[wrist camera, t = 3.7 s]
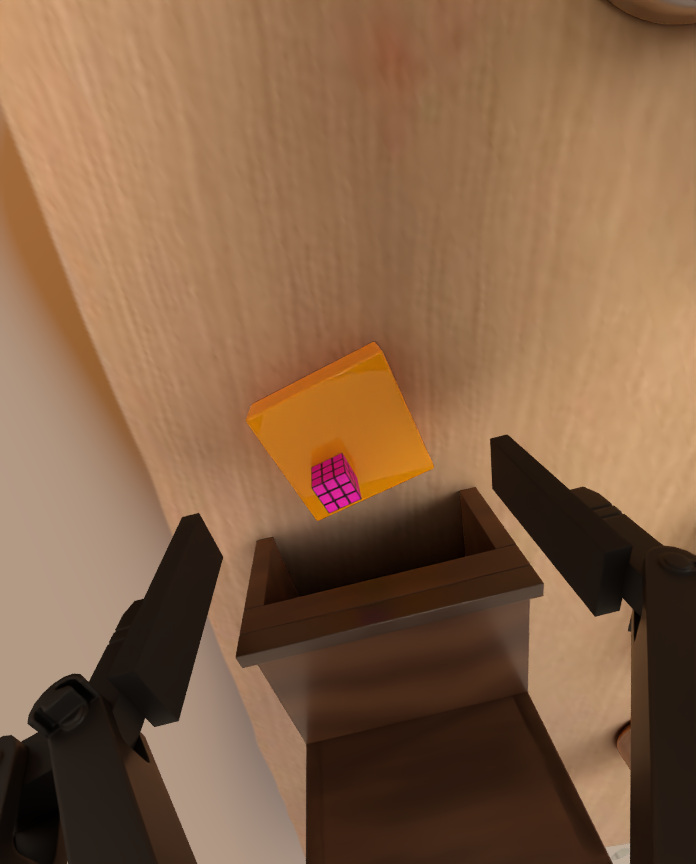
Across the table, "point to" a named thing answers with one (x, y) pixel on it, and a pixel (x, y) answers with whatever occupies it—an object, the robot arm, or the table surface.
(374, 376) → the orange slab
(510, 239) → the table surface
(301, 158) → the table surface
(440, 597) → the step shelf
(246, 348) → the table surface
